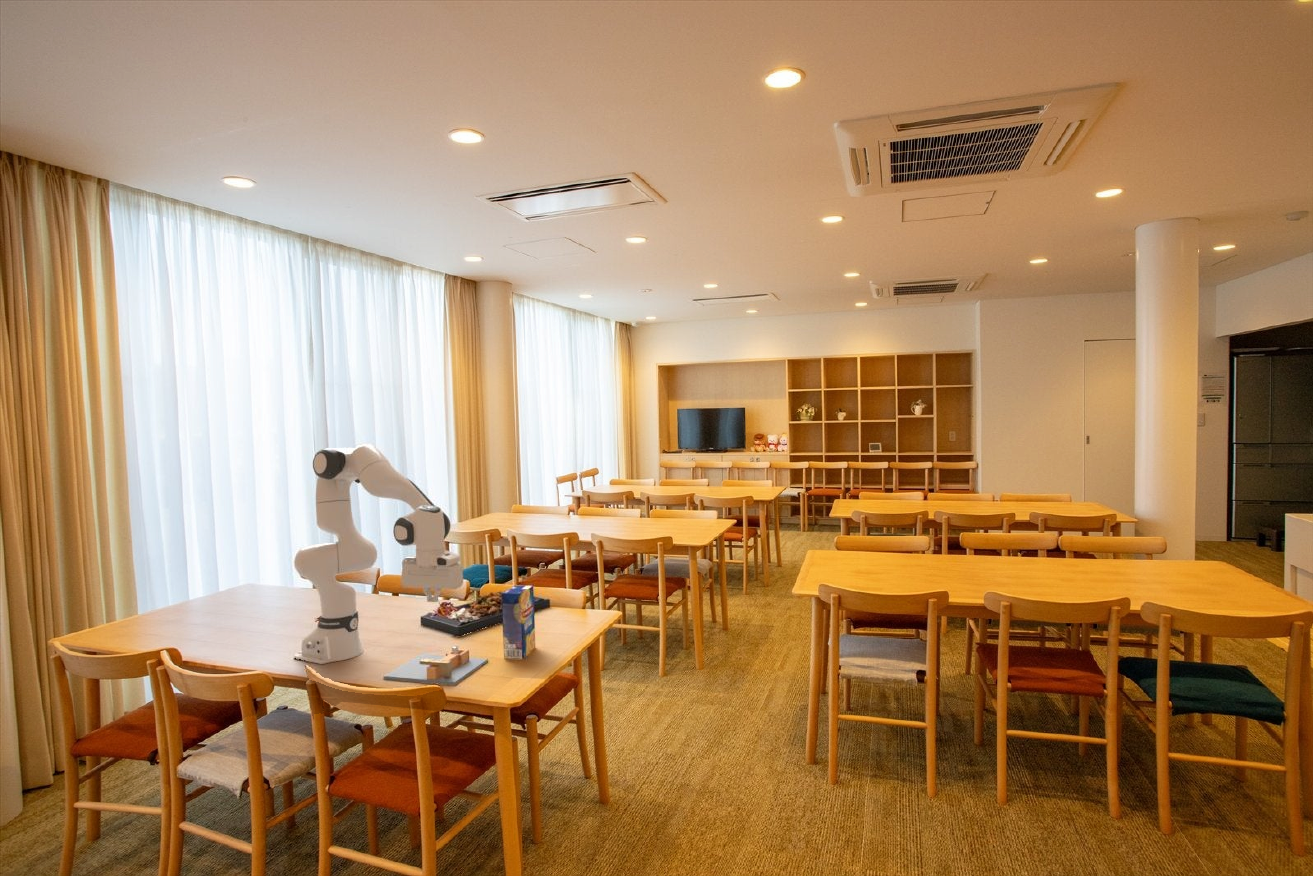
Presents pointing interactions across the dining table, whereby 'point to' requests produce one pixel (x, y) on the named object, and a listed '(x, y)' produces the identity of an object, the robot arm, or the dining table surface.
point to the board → (419, 671)
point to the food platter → (472, 614)
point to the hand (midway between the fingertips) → (432, 601)
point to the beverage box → (518, 621)
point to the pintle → (455, 650)
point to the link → (455, 659)
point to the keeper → (443, 663)
